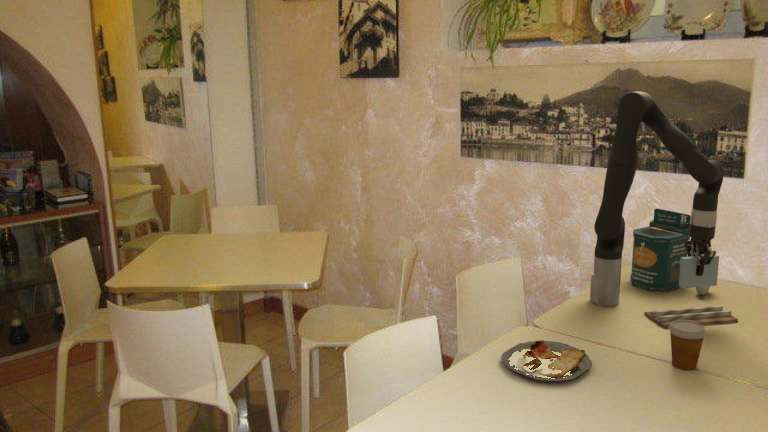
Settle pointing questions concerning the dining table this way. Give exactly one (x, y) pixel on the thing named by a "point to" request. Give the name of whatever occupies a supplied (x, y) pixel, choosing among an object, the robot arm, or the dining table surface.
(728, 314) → the floor track
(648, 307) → the dining table surface
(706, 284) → the door panel
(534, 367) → the food plate
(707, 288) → the beige flat disc
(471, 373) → the dining table surface
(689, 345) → the disposable coffee cup
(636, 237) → the donation box
